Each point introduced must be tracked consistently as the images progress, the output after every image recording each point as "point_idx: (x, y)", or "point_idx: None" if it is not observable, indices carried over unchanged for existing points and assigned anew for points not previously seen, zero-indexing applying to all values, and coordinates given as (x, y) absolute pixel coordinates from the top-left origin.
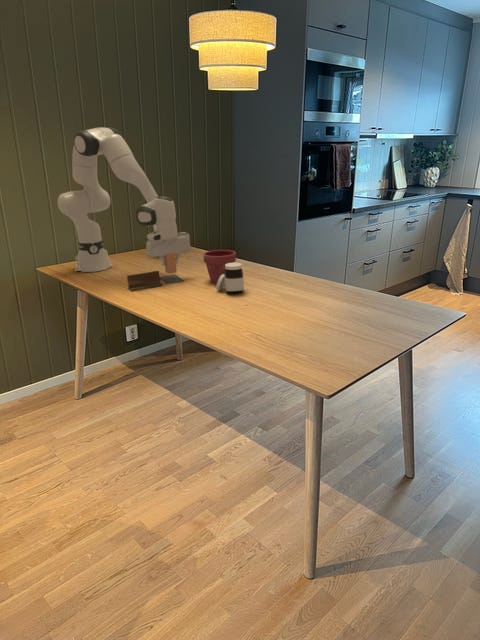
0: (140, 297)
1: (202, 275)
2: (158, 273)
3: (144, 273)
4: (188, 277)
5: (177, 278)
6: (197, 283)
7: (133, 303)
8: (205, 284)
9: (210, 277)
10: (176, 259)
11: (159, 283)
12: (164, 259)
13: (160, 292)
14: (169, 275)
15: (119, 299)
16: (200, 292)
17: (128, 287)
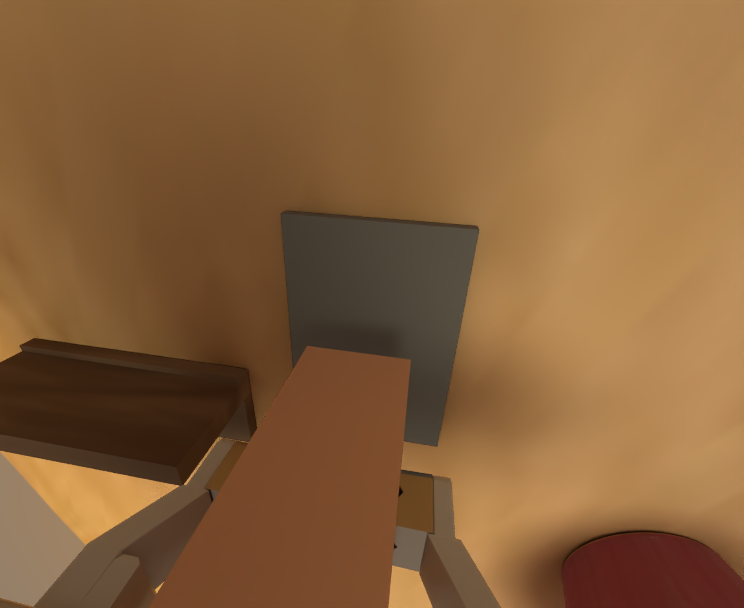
0: (121, 496)
1: (685, 406)
2: (189, 464)
3: (47, 459)
4: (534, 376)
5: (412, 383)
6: (477, 520)
7: (96, 528)
8: (501, 556)
9: (570, 599)
10: (424, 579)
11: (235, 414)
12: (223, 498)
13: None
14: (399, 239)
15: (25, 461)
16: (394, 603)
17: (25, 349)
